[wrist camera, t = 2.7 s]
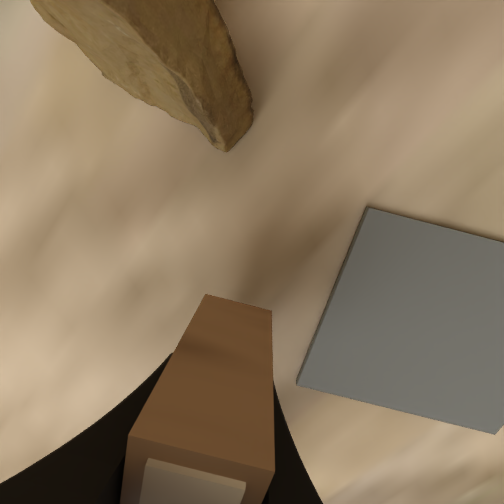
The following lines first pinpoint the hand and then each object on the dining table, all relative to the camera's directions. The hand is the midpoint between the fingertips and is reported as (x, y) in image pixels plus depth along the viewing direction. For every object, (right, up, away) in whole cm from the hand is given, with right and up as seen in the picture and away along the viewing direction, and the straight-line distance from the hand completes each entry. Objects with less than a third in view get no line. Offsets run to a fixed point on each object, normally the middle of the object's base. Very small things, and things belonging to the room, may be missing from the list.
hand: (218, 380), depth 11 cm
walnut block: (0, +1, +2) cm, 2 cm away
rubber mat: (+14, 0, +5) cm, 15 cm away
